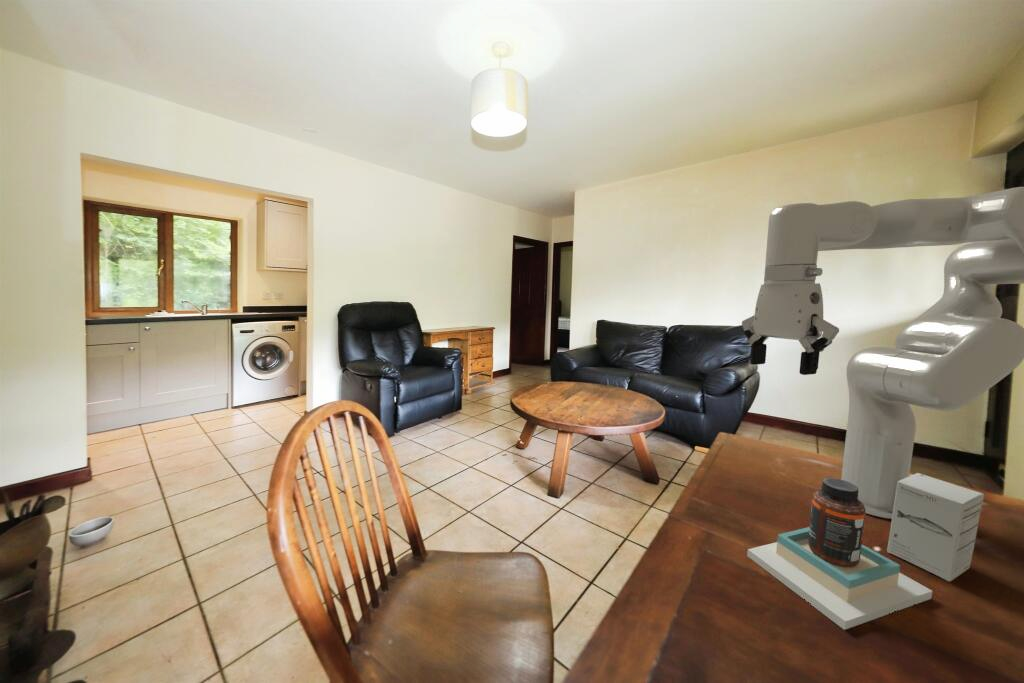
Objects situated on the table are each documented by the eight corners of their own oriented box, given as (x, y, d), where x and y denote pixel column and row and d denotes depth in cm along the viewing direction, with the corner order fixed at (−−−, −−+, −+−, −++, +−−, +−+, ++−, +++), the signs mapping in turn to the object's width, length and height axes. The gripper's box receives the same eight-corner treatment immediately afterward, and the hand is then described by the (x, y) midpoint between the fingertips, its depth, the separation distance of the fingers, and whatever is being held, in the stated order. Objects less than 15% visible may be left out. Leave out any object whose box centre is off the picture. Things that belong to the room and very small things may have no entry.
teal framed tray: (823, 536, 65) (825, 513, 65) (931, 598, 52) (935, 569, 51) (747, 556, 61) (749, 531, 60) (844, 629, 47) (848, 598, 47)
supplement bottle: (870, 571, 53) (879, 496, 51) (822, 566, 54) (830, 492, 52) (842, 544, 59) (850, 476, 57) (799, 539, 60) (806, 472, 58)
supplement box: (884, 552, 61) (894, 480, 60) (907, 540, 64) (917, 471, 63) (950, 584, 55) (963, 503, 53) (972, 569, 57) (985, 492, 56)
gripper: (859, 274, 60) (847, 377, 63) (761, 278, 77) (755, 359, 79) (825, 273, 58) (815, 380, 61) (732, 278, 75) (726, 362, 77)
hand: (781, 368), depth 70 cm, fingers open, 9 cm apart
